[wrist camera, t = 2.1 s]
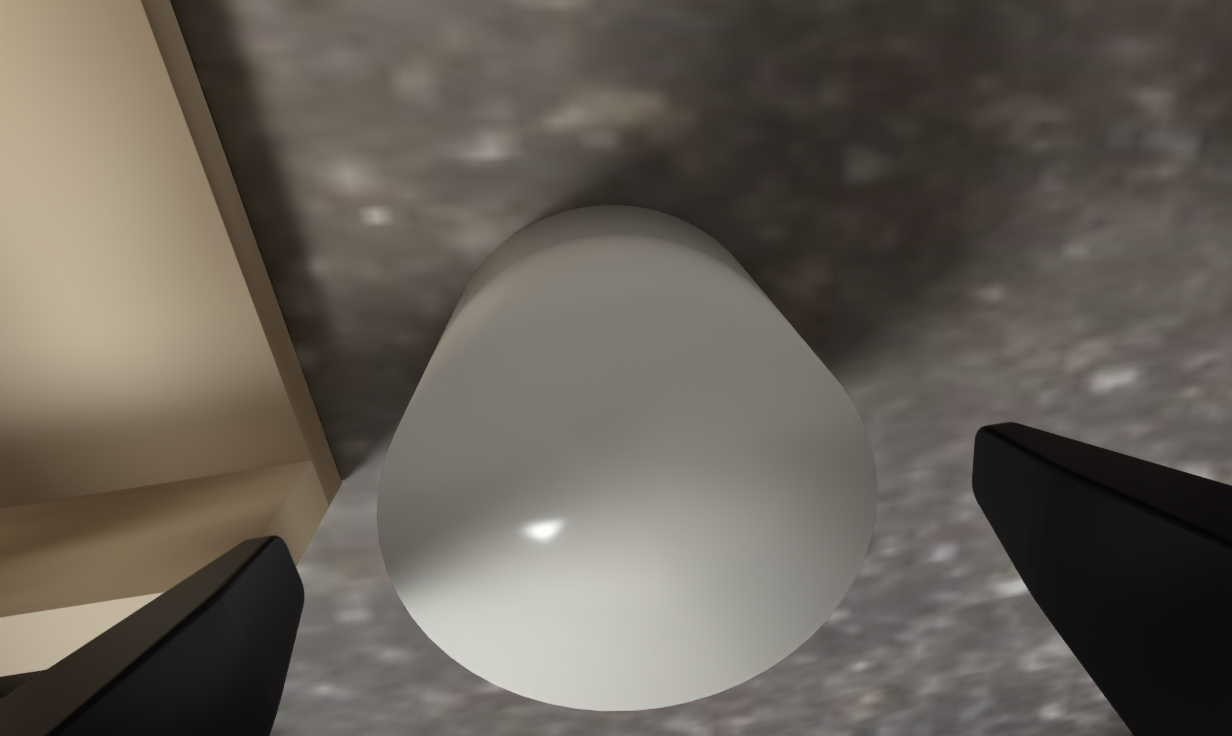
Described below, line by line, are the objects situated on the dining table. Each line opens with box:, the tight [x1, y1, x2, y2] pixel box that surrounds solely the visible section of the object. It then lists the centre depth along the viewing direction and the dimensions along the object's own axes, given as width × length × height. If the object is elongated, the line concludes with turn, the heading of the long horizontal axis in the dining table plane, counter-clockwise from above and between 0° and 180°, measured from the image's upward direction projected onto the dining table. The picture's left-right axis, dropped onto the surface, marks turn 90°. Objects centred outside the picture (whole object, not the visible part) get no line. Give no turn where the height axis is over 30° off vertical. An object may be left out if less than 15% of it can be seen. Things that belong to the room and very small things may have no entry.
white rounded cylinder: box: [377, 205, 878, 711], centre depth 11 cm, size 6×6×5 cm
